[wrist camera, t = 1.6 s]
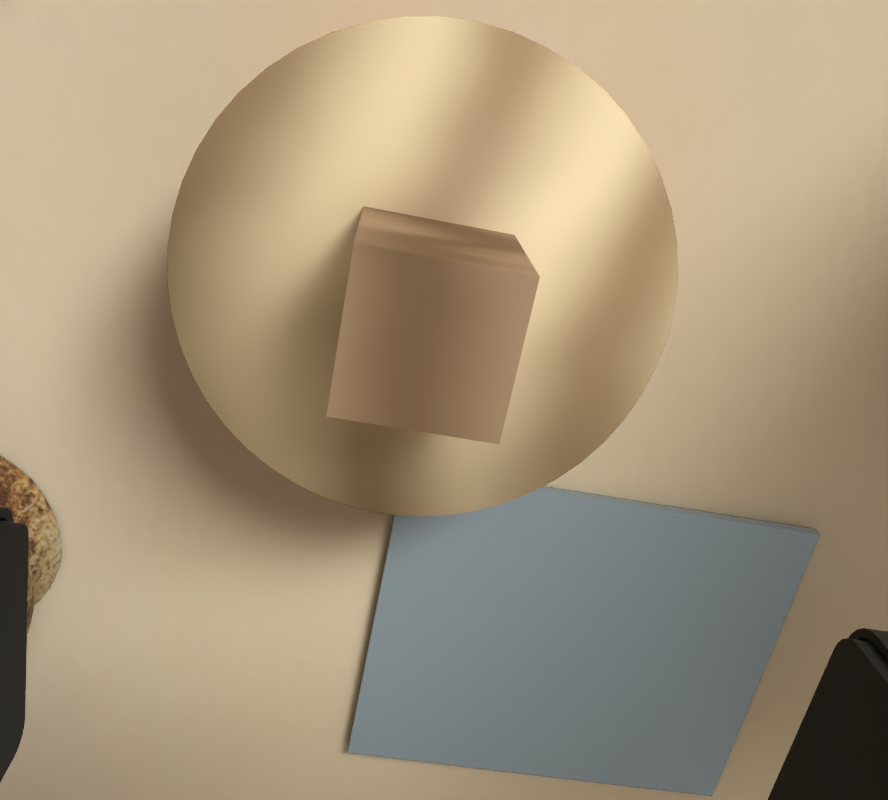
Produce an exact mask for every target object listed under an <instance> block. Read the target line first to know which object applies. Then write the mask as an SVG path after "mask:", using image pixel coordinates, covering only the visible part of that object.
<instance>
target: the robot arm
mask: <svg viewBox="0 0 888 800" xmlns="http://www.w3.org/2000/svg"><path fill="white" fill-rule="evenodd" d="M28 552H29V533H28V528H27V526H26V525H25V524H22V523H15V522H13V516H12V513H11V511H10V510H9V509H8V508H6V507H0V782H1V780H2V778H3V776H4V774H5V773H6V771H7V769H8V767H9V765H10V763H11V762H12V760H13V758H14V756H15V754H16V752H17V749H18V746H19V744H20V741H21V737H22V734H23V729H24V722H25V689H26V643H27V598H28ZM768 800H888V632H886V631H879V630H872V629H865V628H863V629H858V630H856V631H855V632H853V633H852V634H851V635H850V637H849V638H847V639H842V640H841V641H840V642H838V644H837V645H836V647H835V648H834V651H833V653H832V655H831V657H830V660H829V662H828V664H827V667H826V669H825V671H824V673H823V676H822V678H821V680H820V682H819V685H818V687H817V689H816V691H815V694H814V696H813V698H812V701H811V703H810V705H809V707H808V710H807V712H806V714H805V716H804V719H803V721H802V723H801V725H800V728H799V730H798V732H797V735H796V737H795V739H794V741H793V744H792V746H791V748H790V750H789V753H788V755H787V757H786V759H785V762H784V764H783V766H782V769H781V771H780V773H779V775H778V778H777V780H776V782H775V784H774V787H773V789H772V791H771V793H770V796H769V798H768Z"/></svg>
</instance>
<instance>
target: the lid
mask: <svg viewBox="0 0 888 800" xmlns="http://www.w3.org/2000/svg"><path fill="white" fill-rule="evenodd" d="M677 279H678V261H677V240H676V234H675V228H674V221H673V215H672V209H671V206H670V203H669V200H668V197H667V193H666V190H665V187H664V184H663V180H662V177H661V175H660V173H659V171H658V169H657V167H656V164H655V162H654V160H653V158H652V156H651V154H650V152H649V149H648V147H647V146H646V144H645V142H644V141H643V139H642V138H641V136H640V135H639V133H638V132H637V130H636V129H635V127H634V126H633V124H632V122H631V121H630V119H629V118H628V117H627V115H626V114H625V113H624V112H623V111H622V110H621V109H620V107H619V106H618V105H617V104H616V103H615V102H614V100H613V99H612V98H611V97H610V96H609V95H608V94H607V92H606V91H605V90H604V89H602V88H601V87H600V86H599V85H598V84H597V83H596V82H594V81H593V80H592V79H591V78H590V77H589V76H587V75H586V74H585V73H584V72H583V71H582V70H580V69H579V68H578V67H577V66H575V65H574V64H572V63H570V62H569V61H567V60H566V59H564V58H563V57H561V56H560V55H558V54H556V53H555V52H553V51H552V50H550V49H549V48H547V47H545V46H543V45H541V44H538V43H536V42H534V41H532V40H530V39H527V38H525V37H523V36H521V35H519V34H516V33H514V32H511V31H508V30H504V29H501V28H497V27H494V26H491V25H487V24H484V23H480V22H476V21H469V20H462V19H455V18H448V17H398V18H391V19H384V20H377V21H370V22H365V23H362V24H359V25H355V26H352V27H348V28H345V29H342V30H338V31H335V32H332V33H329V34H327V35H325V36H323V37H321V38H318V39H316V40H314V41H312V42H310V43H307V44H305V45H303V46H301V47H299V48H297V49H295V50H294V51H292V52H291V53H289V54H288V55H286V56H285V57H283V58H281V59H280V60H278V61H277V62H275V63H274V64H272V65H271V66H269V67H268V68H266V69H265V70H264V71H263V72H262V73H260V74H259V75H258V76H257V77H256V78H255V79H254V80H252V81H251V82H250V83H249V84H248V85H247V86H246V87H244V88H243V89H242V90H241V91H240V92H239V93H238V94H237V95H236V96H235V98H234V99H233V100H232V101H231V102H230V103H229V105H228V106H227V107H226V108H225V109H224V110H223V112H222V113H221V114H220V115H219V116H218V117H217V119H216V120H215V121H214V123H213V124H212V126H211V128H210V129H209V131H208V132H207V134H206V135H205V137H204V139H203V140H202V142H201V143H200V145H199V146H198V148H197V150H196V152H195V154H194V156H193V159H192V161H191V163H190V165H189V167H188V170H187V172H186V174H185V176H184V178H183V181H182V184H181V187H180V190H179V194H178V197H177V201H176V204H175V208H174V211H173V214H172V221H171V228H170V235H169V242H168V258H167V283H168V291H169V299H170V306H171V314H172V318H173V322H174V325H175V329H176V333H177V337H178V340H179V344H180V347H181V349H182V352H183V354H184V357H185V359H186V362H187V364H188V366H189V369H190V371H191V374H192V376H193V377H194V379H195V381H196V383H197V384H198V386H199V388H200V390H201V391H202V393H203V395H204V397H205V398H206V400H207V402H208V403H209V405H210V406H211V407H212V409H213V410H214V411H215V413H216V414H217V415H218V417H219V418H220V419H221V421H222V422H223V423H224V425H225V426H226V427H227V428H228V429H229V430H230V431H231V432H232V433H233V434H234V436H235V437H236V438H237V439H238V440H239V441H240V442H241V443H242V444H243V445H244V446H245V447H246V448H247V449H248V450H249V451H251V452H252V453H253V454H254V455H255V456H257V457H258V458H259V459H260V460H262V461H263V462H264V463H265V464H267V465H268V466H269V467H270V468H272V469H273V470H275V471H276V472H278V473H279V474H281V475H283V476H284V477H286V478H287V479H289V480H291V481H292V482H294V483H295V484H297V485H299V486H301V487H303V488H305V489H307V490H310V491H312V492H314V493H316V494H318V495H320V496H322V497H324V498H327V499H330V500H333V501H336V502H339V503H342V504H345V505H348V506H351V507H354V508H359V509H364V510H368V511H373V512H378V513H383V514H393V515H403V516H444V515H452V514H459V513H466V512H473V511H477V510H481V509H485V508H488V507H492V506H496V505H500V504H503V503H506V502H508V501H511V500H514V499H516V498H519V497H521V496H524V495H527V494H529V493H531V492H533V491H535V490H537V489H539V488H541V487H543V486H544V485H546V484H548V483H550V482H552V481H554V480H556V479H557V478H559V477H560V476H562V475H563V474H565V473H566V472H568V471H569V470H571V469H572V468H573V467H575V466H576V465H578V464H579V463H581V462H582V461H583V460H584V459H585V458H586V457H588V456H589V455H590V454H591V453H592V452H593V451H594V450H596V449H597V448H598V447H599V446H600V445H601V444H602V443H604V442H605V440H606V439H607V438H608V437H609V436H610V435H611V434H612V433H613V432H614V430H615V429H616V428H617V427H618V426H619V425H620V424H621V423H622V422H623V420H624V419H625V418H626V416H627V415H628V413H629V412H630V411H631V409H632V408H633V406H634V405H635V403H636V402H637V401H638V399H639V398H640V396H641V395H642V393H643V391H644V389H645V387H646V385H647V384H648V382H649V380H650V378H651V376H652V374H653V372H654V370H655V368H656V366H657V364H658V361H659V358H660V356H661V353H662V350H663V348H664V345H665V343H666V340H667V337H668V333H669V328H670V324H671V320H672V316H673V312H674V307H675V298H676V288H677Z"/></svg>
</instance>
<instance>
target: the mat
mask: <svg viewBox="0 0 888 800" xmlns="http://www.w3.org/2000/svg"><path fill="white" fill-rule="evenodd" d="M819 536H820V535H819V534H818V532H817V531H816V530H815V529H811V528H805V527H798V526H792V525H785V524H779V523H773V522H766V521H760V520H754V519H747V518H741V517H735V516H728V515H722V514H716V513H709V512H703V511H697V510H690V509H684V508H678V507H671V506H665V505H659V504H652V503H646V502H640V501H633V500H627V499H620V498H614V497H608V496H601V495H595V494H589V493H582V492H576V491H570V490H563V489H557V488H551V487H544V486H543V487H541V488H539V489H537V490H535V491H533V492H531V493H529V494H527V495H524V496H521V497H519V498H516V499H514V500H511V501H508V502H506V503H503V504H500V505H496V506H492V507H488V508H485V509H481V510H477V511H473V512H466V513H459V514H452V515H444V516H403V515H394V519H393V524H392V529H391V534H390V539H389V544H388V549H387V554H386V559H385V564H384V569H383V574H382V579H381V584H380V589H379V594H378V599H377V604H376V609H375V614H374V619H373V624H372V629H371V634H370V639H369V644H368V649H367V654H366V659H365V664H364V670H363V675H362V680H361V685H360V690H359V695H358V700H357V705H356V710H355V715H354V720H353V725H352V730H351V735H350V740H349V745H348V753H352V754H360V755H369V756H377V757H385V758H394V759H402V760H411V761H419V762H427V763H436V764H444V765H453V766H461V767H469V768H478V769H486V770H495V771H503V772H511V773H520V774H528V775H537V776H545V777H554V778H562V779H570V780H579V781H587V782H596V783H604V784H612V785H621V786H629V787H638V788H646V789H654V790H663V791H671V792H680V793H688V794H696V795H705V796H712V795H713V793H714V790H715V788H716V786H717V783H718V781H719V778H720V776H721V773H722V771H723V769H724V766H725V764H726V761H727V759H728V757H729V754H730V752H731V749H732V747H733V744H734V742H735V740H736V737H737V735H738V732H739V730H740V727H741V725H742V723H743V720H744V718H745V715H746V713H747V710H748V708H749V706H750V703H751V701H752V698H753V696H754V694H755V691H756V689H757V686H758V684H759V681H760V679H761V677H762V674H763V672H764V669H765V667H766V664H767V662H768V660H769V657H770V655H771V652H772V650H773V647H774V645H775V643H776V640H777V638H778V635H779V633H780V631H781V628H782V626H783V623H784V621H785V618H786V616H787V614H788V611H789V609H790V606H791V604H792V601H793V599H794V597H795V594H796V592H797V589H798V587H799V584H800V582H801V580H802V577H803V575H804V572H805V570H806V568H807V565H808V563H809V560H810V558H811V555H812V553H813V551H814V548H815V546H816V543H817V541H818V538H819Z"/></svg>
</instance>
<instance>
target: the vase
mask: <svg viewBox="0 0 888 800" xmlns="http://www.w3.org/2000/svg"><path fill="white" fill-rule="evenodd" d="M0 507H6V508H8V509H9V510H10V511H11V513H12V516H13V522H15V523H22V524H25V525H26V526H27V528H28V533H29V552H28V598H27V633H28V630H29V627H30V623H31V618H32V613H33V608H34V604H35V603H37V602H38V601H39V600H40V599H41V598H42V597H43V595H44V594H45V593H46V592H47V591H48V589H49V588H50V586H51V584H52V583H53V581H54V578H55V576H56V573H57V571H58V569H59V566H60V561H61V556H62V552H61V539H60V532H59V528H58V525H57V521H56V517H55V515H54V513H53V511H52V509H51V507H50V505H49V504H48V502H47V500H46V499H45V497H44V495H43V494H42V492H41V491H40V489H39V488H38V487H37V486H36V484H35V483H34V482H33V480H32V479H31V478H30V477H28V476H27V475H26V474H25V473H24V472H22V471H21V470H20V469H19V468H17V467H16V466H15V465H13V464H12V463H11V462H9V461H8V460H6V459H5V458H3V457H2V456H0Z"/></svg>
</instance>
